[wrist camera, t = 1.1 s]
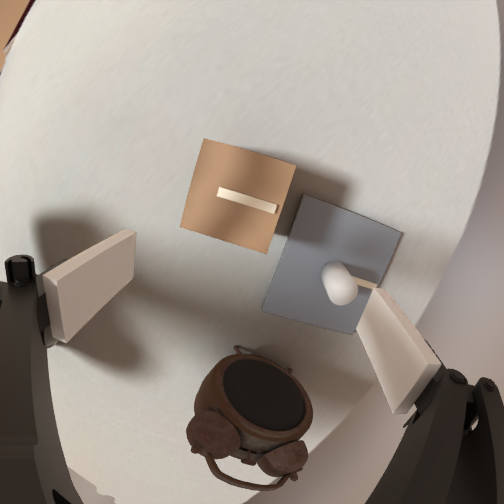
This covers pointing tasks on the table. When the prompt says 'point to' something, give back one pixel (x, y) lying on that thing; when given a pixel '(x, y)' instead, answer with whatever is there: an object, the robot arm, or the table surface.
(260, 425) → the alarm clock
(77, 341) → the table surface
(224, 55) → the table surface
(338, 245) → the plate
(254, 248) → the tan drawer box
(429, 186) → the table surface
